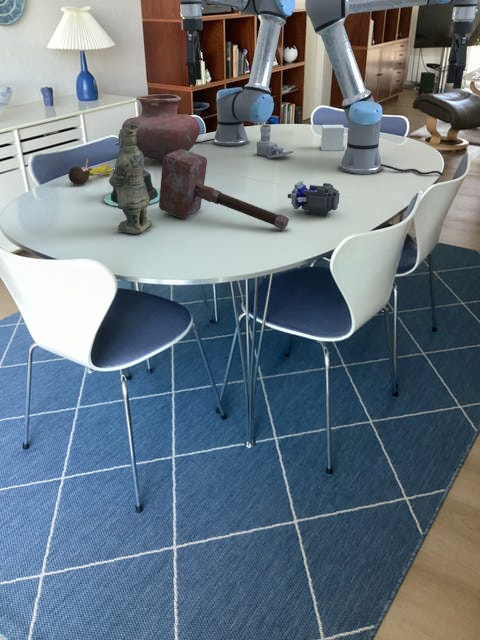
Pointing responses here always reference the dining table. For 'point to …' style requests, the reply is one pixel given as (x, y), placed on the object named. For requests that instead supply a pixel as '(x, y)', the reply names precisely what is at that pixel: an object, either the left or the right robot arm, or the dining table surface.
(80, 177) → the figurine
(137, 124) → the statue
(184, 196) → the sledgehammer
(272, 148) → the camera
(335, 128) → the brick
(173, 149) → the clay pot
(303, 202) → the toy
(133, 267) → the dining table surface
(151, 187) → the dark dome on dish
